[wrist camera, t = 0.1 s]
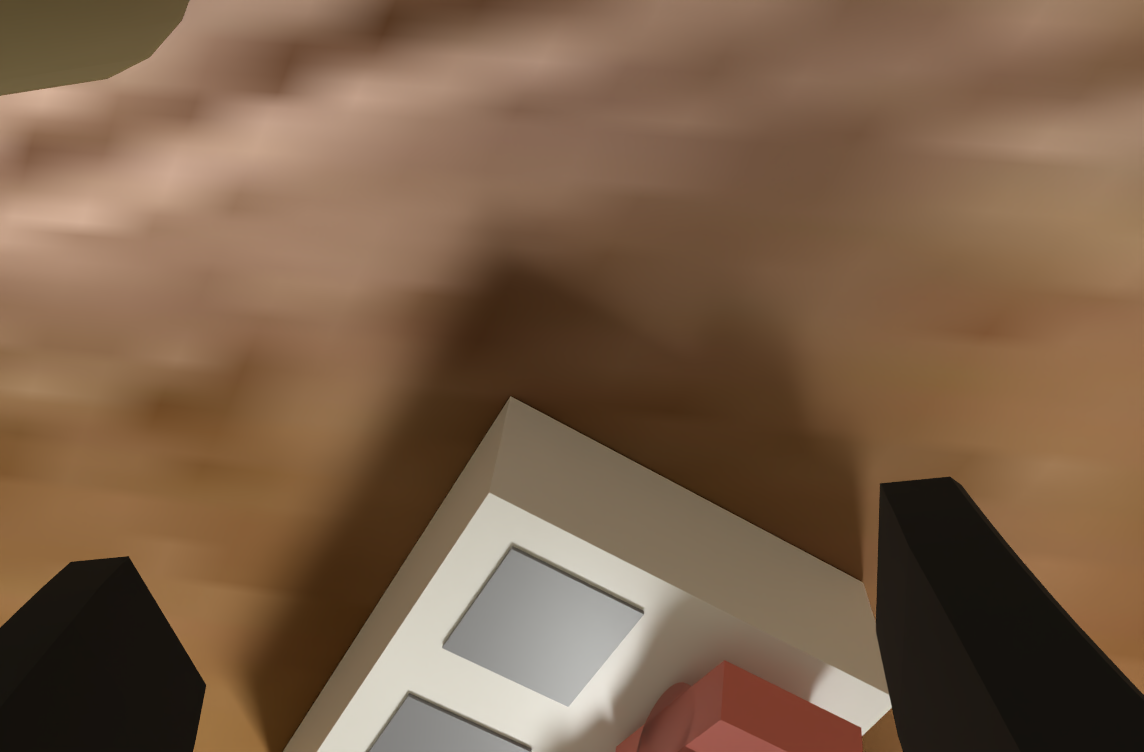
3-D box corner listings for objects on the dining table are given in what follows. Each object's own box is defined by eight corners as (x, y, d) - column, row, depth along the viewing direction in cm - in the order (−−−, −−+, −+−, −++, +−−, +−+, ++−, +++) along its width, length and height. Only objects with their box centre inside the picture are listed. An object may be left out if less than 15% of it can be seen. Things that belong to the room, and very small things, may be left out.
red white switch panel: (571, 893, 28) (563, 1027, 25) (273, 766, 27) (223, 892, 23) (863, 583, 23) (900, 703, 20) (510, 395, 21) (488, 496, 18)
